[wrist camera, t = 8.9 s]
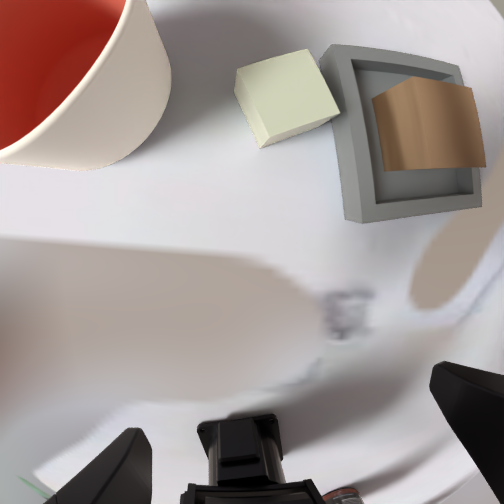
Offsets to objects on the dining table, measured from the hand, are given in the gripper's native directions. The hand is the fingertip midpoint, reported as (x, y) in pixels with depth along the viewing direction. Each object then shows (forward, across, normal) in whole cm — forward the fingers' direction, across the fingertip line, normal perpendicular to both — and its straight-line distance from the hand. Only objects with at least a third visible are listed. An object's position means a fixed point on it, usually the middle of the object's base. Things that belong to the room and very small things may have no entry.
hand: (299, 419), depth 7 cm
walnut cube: (+11, -12, -9) cm, 19 cm away
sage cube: (+12, -3, -11) cm, 17 cm away
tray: (+12, -12, -9) cm, 19 cm away
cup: (+12, +8, -14) cm, 20 cm away
